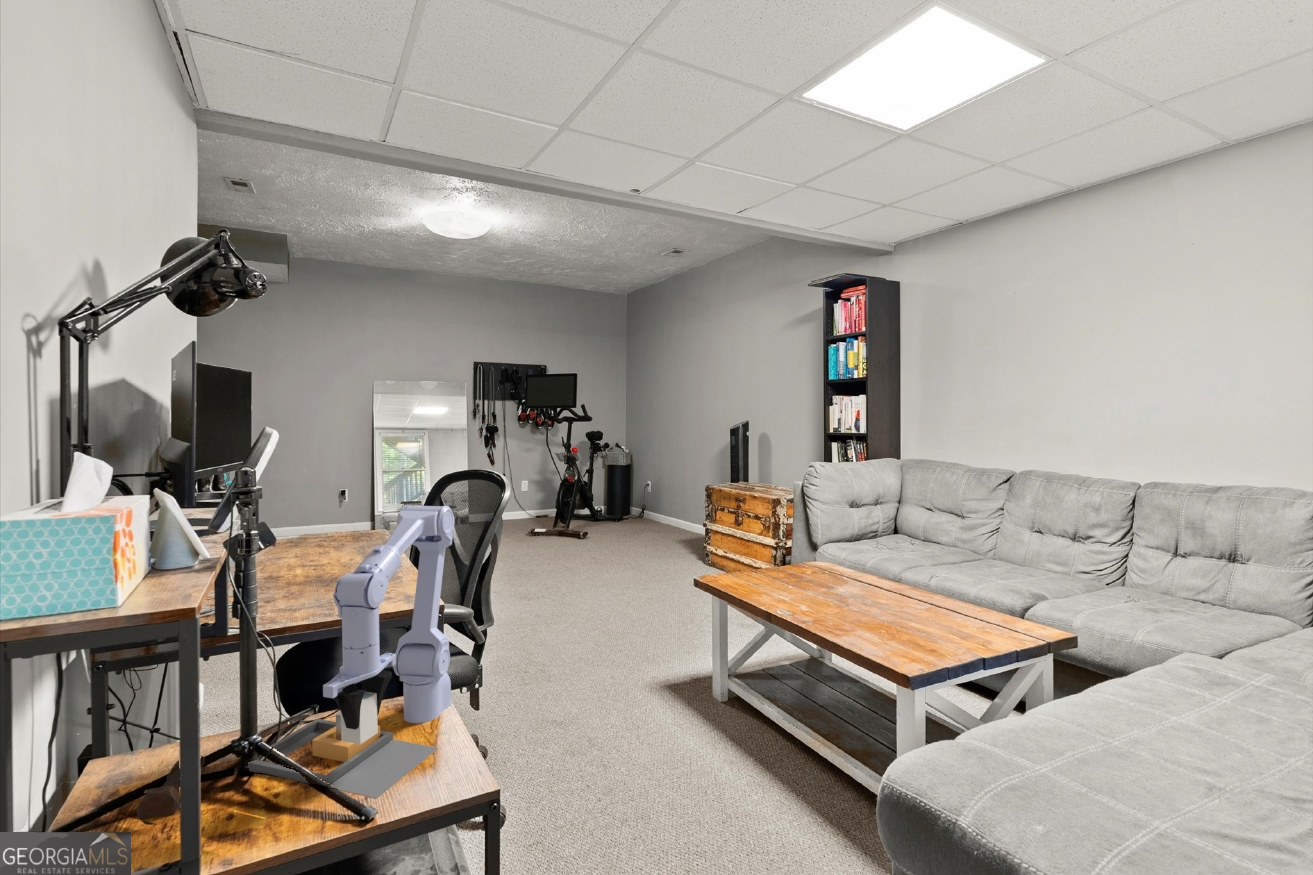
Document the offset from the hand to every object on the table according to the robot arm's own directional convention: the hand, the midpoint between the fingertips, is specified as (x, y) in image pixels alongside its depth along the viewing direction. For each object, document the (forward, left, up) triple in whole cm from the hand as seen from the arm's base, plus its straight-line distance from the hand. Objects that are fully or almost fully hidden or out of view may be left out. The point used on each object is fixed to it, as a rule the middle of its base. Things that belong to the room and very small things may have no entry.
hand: (362, 721), depth 109 cm
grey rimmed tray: (-3, -12, -10) cm, 16 cm away
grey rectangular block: (-6, -9, -9) cm, 14 cm away
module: (0, -1, -3) cm, 3 cm away
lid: (-3, +2, -10) cm, 11 cm away
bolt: (+13, -26, -11) cm, 31 cm away
